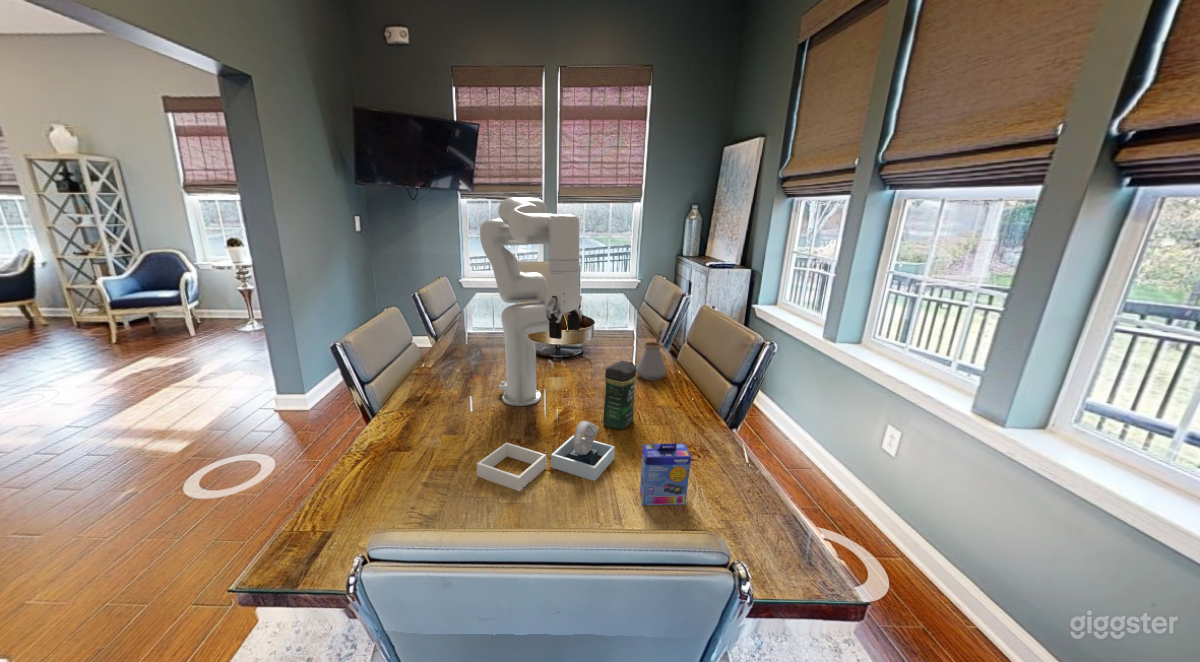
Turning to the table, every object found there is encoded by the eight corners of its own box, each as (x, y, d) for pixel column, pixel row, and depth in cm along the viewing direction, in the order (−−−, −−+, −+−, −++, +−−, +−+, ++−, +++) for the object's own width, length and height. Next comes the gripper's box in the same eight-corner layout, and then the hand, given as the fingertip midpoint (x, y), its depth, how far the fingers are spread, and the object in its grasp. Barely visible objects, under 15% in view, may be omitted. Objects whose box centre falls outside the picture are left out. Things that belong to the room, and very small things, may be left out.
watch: (600, 457, 113) (601, 418, 110) (586, 474, 106) (587, 432, 103) (580, 452, 116) (580, 414, 113) (565, 468, 108) (566, 427, 105)
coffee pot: (662, 384, 162) (665, 345, 158) (632, 379, 165) (633, 341, 161) (673, 365, 181) (676, 330, 177) (646, 362, 185) (648, 327, 181)
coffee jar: (623, 432, 126) (626, 371, 121) (599, 425, 130) (600, 366, 125) (637, 419, 134) (640, 361, 129) (614, 413, 138) (616, 356, 133)
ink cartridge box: (642, 507, 95) (646, 447, 91) (638, 491, 100) (641, 433, 97) (687, 505, 96) (693, 446, 92) (681, 490, 101) (686, 432, 97)
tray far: (551, 467, 109) (551, 454, 108) (573, 446, 118) (573, 435, 117) (594, 481, 104) (595, 468, 103) (614, 458, 113) (614, 446, 112)
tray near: (477, 476, 104) (476, 463, 103) (506, 454, 114) (506, 442, 113) (519, 491, 99) (519, 478, 98) (546, 467, 109) (546, 454, 108)
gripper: (567, 262, 119) (567, 325, 123) (532, 269, 103) (534, 340, 107) (592, 264, 116) (592, 328, 120) (560, 270, 100) (561, 343, 104)
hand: (564, 333), depth 114 cm, fingers open, 9 cm apart
